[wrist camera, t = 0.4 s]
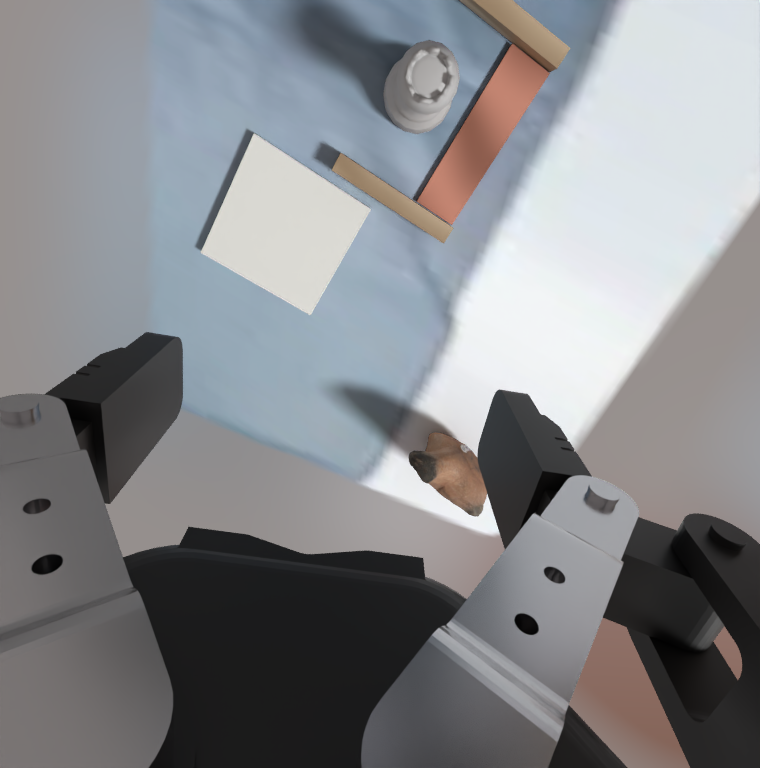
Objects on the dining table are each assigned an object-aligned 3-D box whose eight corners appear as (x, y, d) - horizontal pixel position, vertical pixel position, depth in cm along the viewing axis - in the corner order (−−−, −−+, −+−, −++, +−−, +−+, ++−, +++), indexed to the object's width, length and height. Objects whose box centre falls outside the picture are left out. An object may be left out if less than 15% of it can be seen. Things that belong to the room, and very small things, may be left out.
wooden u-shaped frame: (444, -43, 28) (448, -53, 27) (561, 53, 30) (570, 48, 29) (333, 169, 33) (331, 170, 31) (441, 240, 35) (443, 243, 34)
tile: (255, 133, 32) (253, 133, 31) (371, 208, 34) (371, 209, 33) (203, 251, 35) (200, 252, 35) (311, 312, 37) (310, 315, 37)
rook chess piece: (372, 117, 32) (371, 103, 24) (399, 41, 30) (407, 2, 23) (433, 145, 32) (450, 140, 25) (463, 73, 31) (490, 46, 23)
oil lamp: (390, 427, 42) (392, 483, 34) (423, 397, 40) (433, 448, 33) (459, 484, 44) (475, 547, 37) (492, 458, 43) (515, 518, 36)
